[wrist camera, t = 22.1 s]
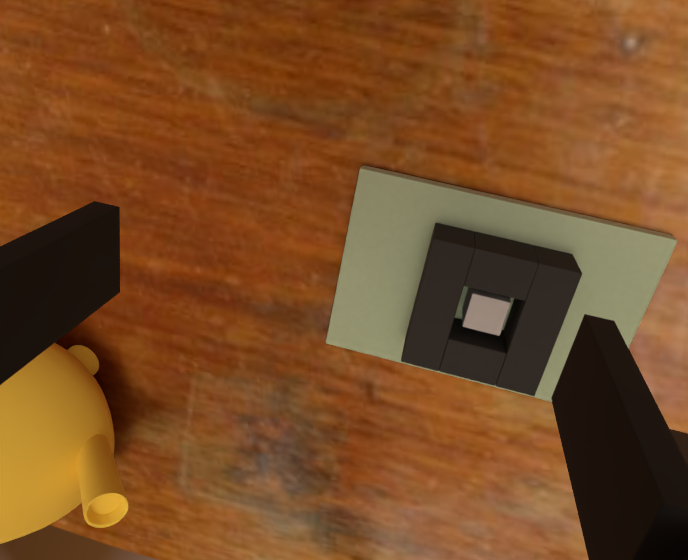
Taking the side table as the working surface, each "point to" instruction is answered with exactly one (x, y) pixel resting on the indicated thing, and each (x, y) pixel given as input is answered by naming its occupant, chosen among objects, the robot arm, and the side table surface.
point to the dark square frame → (500, 278)
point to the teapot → (57, 445)
